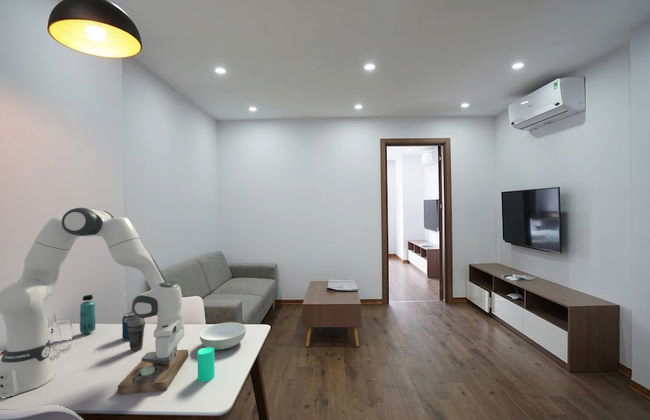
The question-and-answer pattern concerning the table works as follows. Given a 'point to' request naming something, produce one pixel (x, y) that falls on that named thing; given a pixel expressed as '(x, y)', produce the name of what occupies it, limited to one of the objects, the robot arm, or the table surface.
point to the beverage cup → (136, 332)
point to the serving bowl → (222, 335)
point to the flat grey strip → (155, 359)
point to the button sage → (148, 371)
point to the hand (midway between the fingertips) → (172, 358)
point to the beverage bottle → (87, 315)
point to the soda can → (124, 325)
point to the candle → (205, 364)
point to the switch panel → (158, 379)
